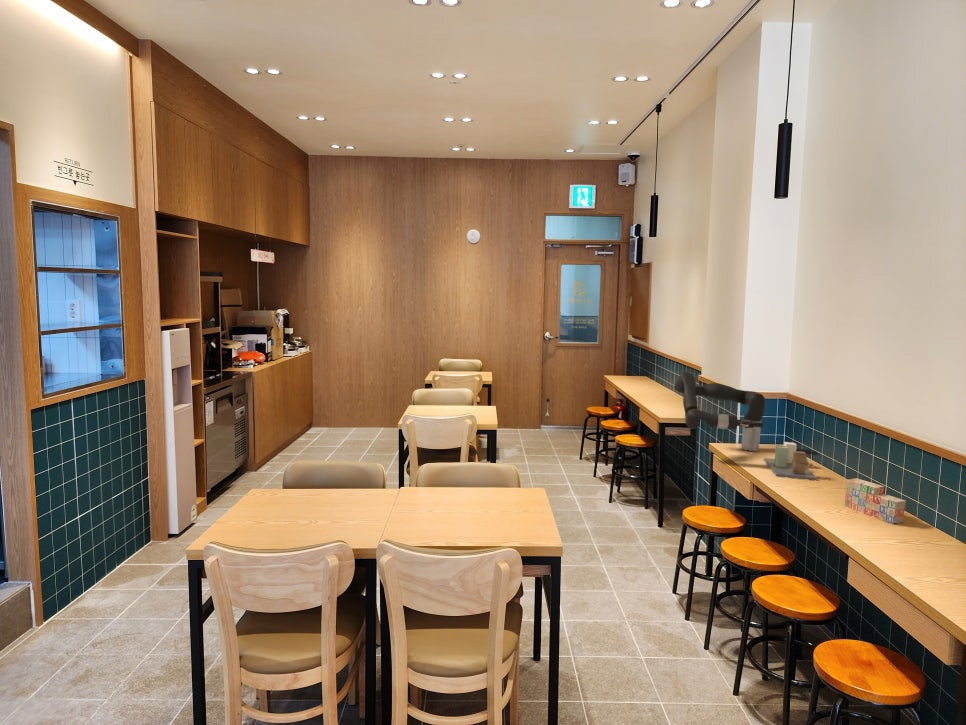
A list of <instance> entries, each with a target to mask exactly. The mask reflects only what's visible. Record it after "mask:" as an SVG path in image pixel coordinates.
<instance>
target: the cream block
mask: <svg viewBox="0 0 966 725" xmlns="http://www.w3.org/2000/svg"><path fill="white" fill-rule="evenodd" d="M783 446H787V447H788V448H789V452H788V461H787V463H791V464H792V459H793V451H797V446H798V445H797V444H796V442H788V441H783Z"/></svg>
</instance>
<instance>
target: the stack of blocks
mask: <svg viewBox="0 0 966 725" xmlns="http://www.w3.org/2000/svg"><path fill="white" fill-rule="evenodd" d="M844 498H845V500H844V506H845V507H844V508H846V507H848V508H847V509H849V508H850V509H849V510H851V509H853V510H852V511H854V510H856V511H855V512H857V511H859V512H858V513H860V512H861V513H860V514H862V513H864V514H863V515H865V514H867V516H868V515H870V516H869V517H871V516H874V517H876V518H875V519H877V518H878V519H877V520H880V519H881V520H880V521H882V520H884V521H883V522H885V521H887V522H886V523H888V522H889V523H888V524H891V523H892V524H891V525H895V524H894V523H898V524H901V523H900V522H903V523H904V516H905V509H906V502H907V501H906V499H901V498H899V497H896V496H892V495H889V494H886V493H885V486H884V485H881V484H877V483H875V482H874V483H873V482H870V481H867V480H863V479H860V478H858V477H857V478H850V479H847V480H846V487H845V497H844ZM874 517H873V518H874Z"/></svg>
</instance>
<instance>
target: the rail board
mask: <svg viewBox="0 0 966 725" xmlns="http://www.w3.org/2000/svg"><path fill="white" fill-rule="evenodd" d="M774 460H775V458H769V457H768V458H767V457H764V458H763V462H764V461H765V462H766V463H765V462H764V463H765V464H766V465H768V466H769V467H768V466H767V467H768V468H769V469H770V471H771V470H772V471H771V472H772V473H773V475H774V474H775V475H776V476H778V478H785V477H788V478H787V479H795V478H798V479H797V480H804V479H811V480H810V481H814V480H816V481H817V476H815V475H814V473H813V472H811V471H810V470H809V468H808V467H806V468H805V474H796V473H793V472H792V471H791V469H792V464H791V463H787V468H785V467H776V466H775V465H774ZM775 475H774V476H775ZM776 476H775V477H776Z"/></svg>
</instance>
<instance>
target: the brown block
mask: <svg viewBox="0 0 966 725" xmlns="http://www.w3.org/2000/svg"><path fill="white" fill-rule="evenodd" d="M807 457H808V454H807V453H806V451H799V450H798V451H797V450H796V451H793V459H792V469H791V471H792V472H793V473H796V474H805V468H807V466H806V459H808V458H807Z"/></svg>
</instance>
